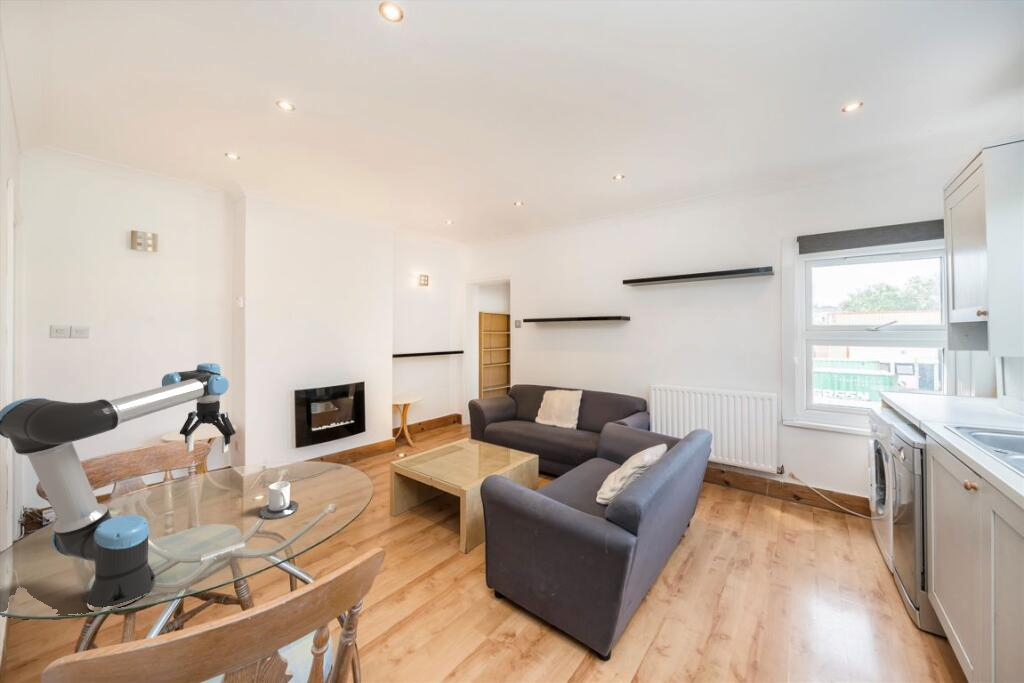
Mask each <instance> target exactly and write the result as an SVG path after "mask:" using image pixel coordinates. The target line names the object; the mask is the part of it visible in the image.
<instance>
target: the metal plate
mask: <svg viewBox="0 0 1024 683" xmlns="http://www.w3.org/2000/svg"><path fill="white" fill-rule="evenodd" d="M298 510H299V502H297V501H294V500H290V502H289V506H288V507H287V508H285V509H283V510H280V511H271V510H270V509H269V503H268V504H265V506H263V507H262V508H261V509H260V510H259V516H260V517H261V518H262V517H264V518H265V520H280V519H283V518H286V517H289V516H292V515H293V514H294V513H296V512H297V511H298ZM264 518H263V519H264Z"/></svg>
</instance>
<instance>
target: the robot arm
mask: <svg viewBox="0 0 1024 683" xmlns="http://www.w3.org/2000/svg"><path fill="white" fill-rule="evenodd" d="M221 374H222V373H221V366H220V364H218V363H211V362H210V363H207V362H206V363H200V364H197V366H196V369H195V370H186V371H185V370H184V371H175V372H169V373H167V374H164V376H163V377H162V379H161V386H160V387H156V388H153V389H148V390H145V391H141V392H138V393H133V394H129V395H125V396H123V397H118V398H114V399H111V400H108V399H102V398H101V399H98V400H94V401H86V402H67V401H62V400H61V401H59V400H51V399H49V398H44V397H37V398H35V397H29V398H23V399H19V400H15V401H12V402H11V403H9V404H8V405H6V406H4V407H2V408H1V410H0V436H1V437H2V438H6V439H9V441H10V444H11V445H12V447H13V449H14V451H15V453H16V454H17V455H22V456H26V457H27V458H28V460H29V462H30V464H31V466H32V468H33V470H34V473H35V474H36V477H37V479H38V481H39V483H40V485H41V487H42V489H43V491H44V493H45V496H46V498H47V500H48V502H49V504H50V506H51V509H52V510H53V513H54V515H55V517H56V519H57V521H56V522H55V524H54V525H53V526H52V527H53V528H52V529H53V532H54V533H53V534H52V535H51V538H50V543H51V546H52V548H53V549H54V550H55V551H56V552H58V553H59V554H61V555H64V556H67V557H73V558H77V559H82V560H86V561H90V562H93V563H94V580H93V583H92V585H91V588H90V589H89V590H90V591H89V593H88V594H87V597H86V599H85V600H86V602H87V603H88V604H89V605H92V606H94V607H102V608H103V607H107V606H114V605H117V604H120V603H123V602H126V601H129V600H132V599H135V598H137V597H140V596H143V595H144V594H146V593H148V592H149V591H150V590H151V589H152V588H153V587H155V586H156V575H155V573H154V571H153V569H152V567H151V566H150V563H149V533H150V528H149V523H148V520H147V518H146V517H144V516H142V515H140V514H139V515H137V514H129V515H126V514H124V515H118V516H114V517H112V515H111V512H110V510H109V507H108V505H107V504H104V503H98V500H97V498H96V496H95V493H94V491H93V489H92V486H91V483H90V481H89V478H88V476H87V475H86V472H85V470H84V467H83V465H82V463H81V460H80V457H79V455H78V453H77V451H76V447H75V446H74V443H73V442H76V441H80V440H84V439H87V438H90V437H93V436H97V435H100V434H103V433H106V432H109V431H112V430H115V429H116V428H117V427H118V426H119V424H124V423H127V422H129V421H132V420H135V419H139V418H142V417H144V416H148V415H151V414H154V413H157V412H160V411H164V410H167V409H170V408H173V407H176V406H179V405H182V404H185V403H188V402H189V403H190V402H192V401H194V400H196V401H197V402H196V409H195V410H196V411H193V410H192V411H190V412H188V414H187V418H186V420H185V422H184V424H183V425H182V426H181V429H180V431H179V434H180V435H183V436H184V443H185V444H186V453H190V452H191V451H194V450H195V449H194V448H195V447H194V446H195V445H194V444H195V443H194V441H195V434H194V432H195V431H196V429H198V428H199V427H200V425H202V424H203V425H204V424H209V425H212V426H215V428H216V429H217V430H218V431H219V432H220V433H221V434H222V437H221V453H222V454H225V453H227V452H228V451H229V444H231V436H234V435H236V430H235V428H234V426H233V425H232V423H231V420H230V419H229V414H228V412H227V411H226V412H220V409H221V408H220V406H221V400H220V399H221V398H220V397H221V396H222V395H224V394H225V393H226V392H227V391H228V389H229V387H230V383H229V380H228V379H227V377H226V376H223V375H221ZM196 418H197V420H196V421H195V422H194V420H195V419H196ZM193 422H194V423H193ZM192 423H193V424H192ZM154 585H155V586H154ZM153 589H154V588H153ZM153 589H152V590H153ZM152 590H151V591H152ZM151 591H150V592H151ZM150 592H149V593H150ZM149 593H148V594H149Z"/></svg>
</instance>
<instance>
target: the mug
mask: <svg viewBox="0 0 1024 683" xmlns="http://www.w3.org/2000/svg"><path fill="white" fill-rule="evenodd" d="M290 492H291V483H290V482H289V481H277V482H274V483H272V484H270V485H269V486H268V504H269V509H270V510H271V511H280V510H283V509H285V508H287V507H288V506H289V502H290V498H291V496H290V494H291V493H290Z"/></svg>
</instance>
